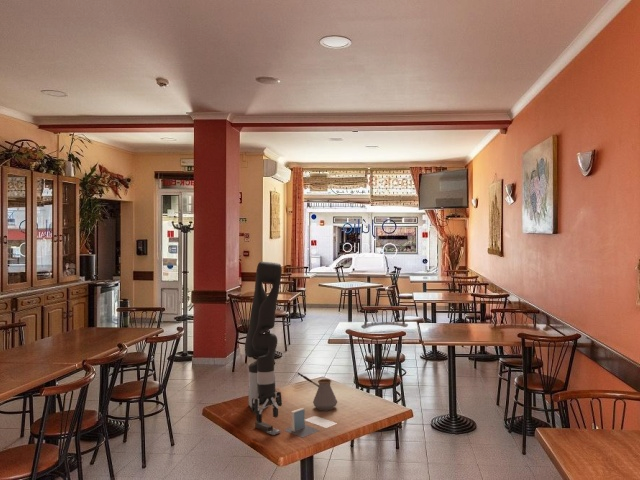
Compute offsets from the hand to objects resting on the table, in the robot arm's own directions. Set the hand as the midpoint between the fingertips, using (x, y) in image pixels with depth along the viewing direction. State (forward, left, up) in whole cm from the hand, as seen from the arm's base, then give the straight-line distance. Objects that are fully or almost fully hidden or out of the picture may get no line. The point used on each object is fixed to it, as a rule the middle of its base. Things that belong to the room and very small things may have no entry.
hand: (267, 419), depth 217 cm
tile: (+8, +10, -5) cm, 14 cm away
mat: (+10, +10, -5) cm, 15 cm away
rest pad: (+9, +22, -5) cm, 24 cm away
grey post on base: (-1, 0, -5) cm, 5 cm away
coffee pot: (-8, +36, -5) cm, 37 cm away
